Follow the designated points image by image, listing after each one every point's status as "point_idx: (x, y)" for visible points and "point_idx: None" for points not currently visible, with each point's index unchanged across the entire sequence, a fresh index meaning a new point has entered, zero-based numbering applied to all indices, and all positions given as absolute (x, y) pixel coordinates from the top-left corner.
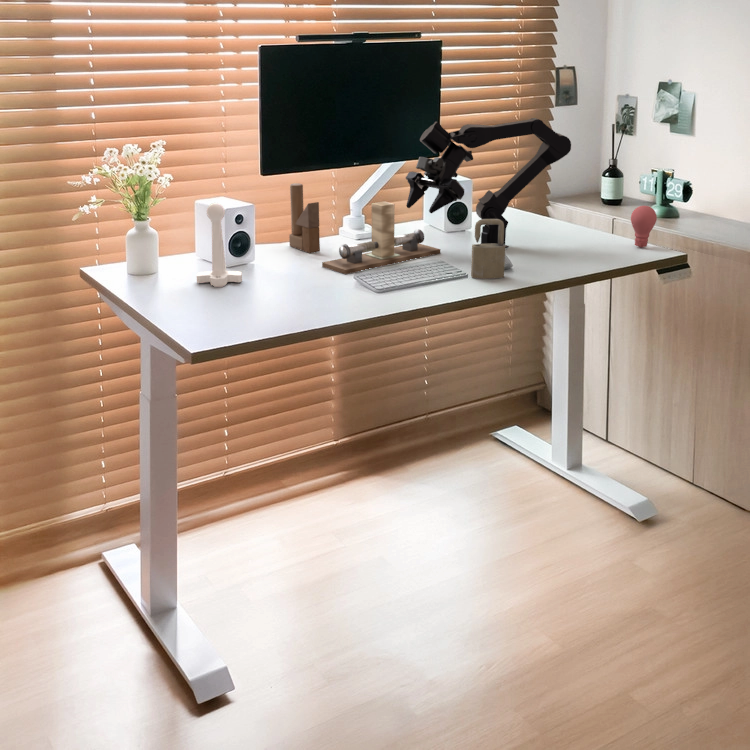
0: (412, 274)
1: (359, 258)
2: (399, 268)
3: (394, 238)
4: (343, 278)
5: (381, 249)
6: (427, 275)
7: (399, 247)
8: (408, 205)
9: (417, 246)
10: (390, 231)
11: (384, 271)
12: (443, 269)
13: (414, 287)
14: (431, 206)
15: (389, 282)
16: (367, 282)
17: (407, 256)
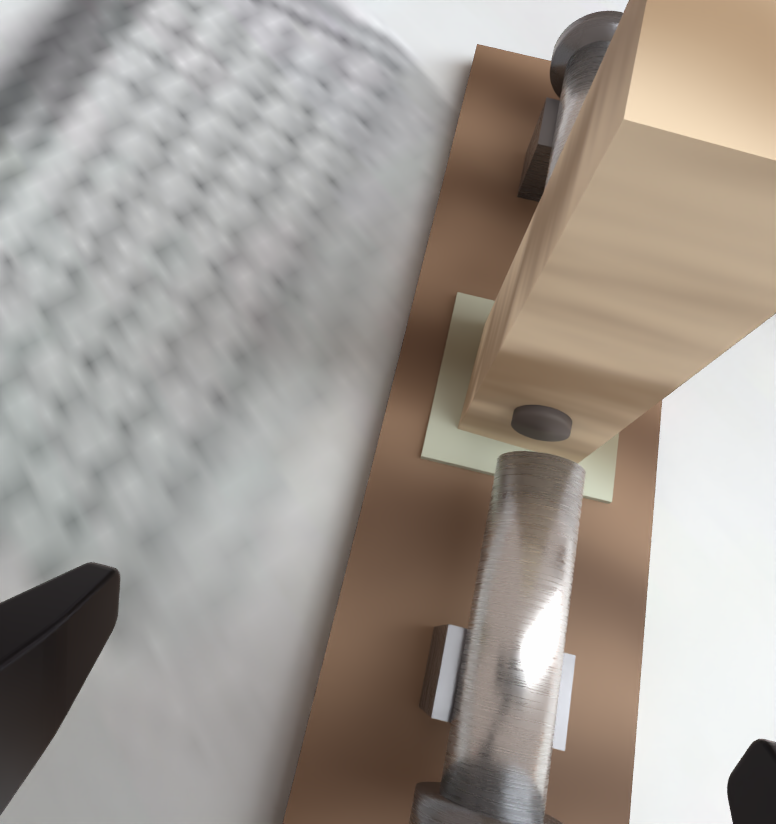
0: (152, 234)
1: (528, 161)
2: (298, 299)
3: (534, 454)
4: (431, 17)
5: (498, 294)
6: (55, 262)
7: (605, 694)
8: (763, 778)
9: (422, 709)
10: (513, 301)
11: (337, 204)
12: (14, 437)
13: (19, 53)
14: (37, 615)
15: (187, 62)
16: (287, 18)
17: (368, 479)
